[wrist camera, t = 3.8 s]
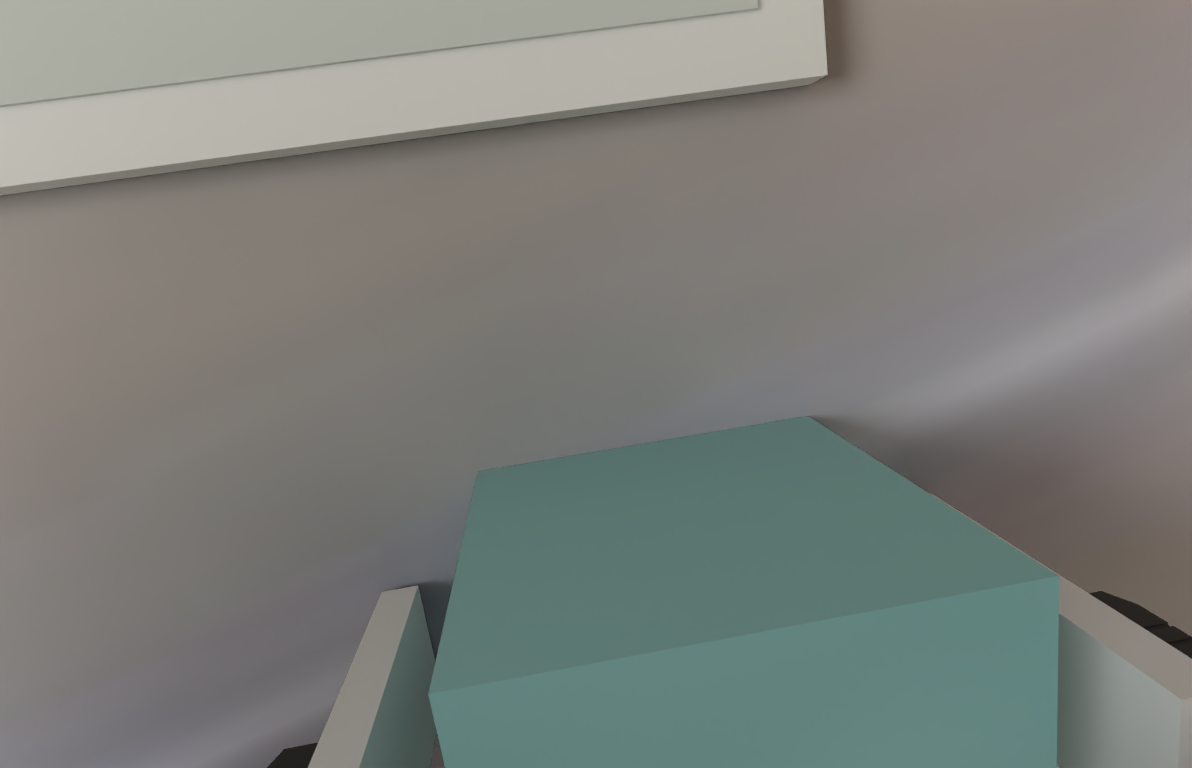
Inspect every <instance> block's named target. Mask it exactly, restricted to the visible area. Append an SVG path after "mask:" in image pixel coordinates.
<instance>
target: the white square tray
mask: <svg viewBox="0 0 1192 768" xmlns="http://www.w3.org/2000/svg"><path fill="white" fill-rule="evenodd" d="M826 75H828V72H827V56H826V40H825V24H824V8H823V0H0V195H8V194H15V193H22V192H30V191H37V190H44V189H52V188H59V187H66V186H74V185H81V184H88V183H96V182H103V181H110V180H117V179H125V178H132V177H139V176H147V175H154V174H161V173H169V172H176V171H183V170H191V169H198V168H205V167H213V166H220V165H227V164H234V163H242V162H249V161H256V160H264V159H271V158H278V157H286V156H293V155H300V154H308V153H315V152H322V151H330V150H337V149H344V148H351V147H359V146H366V145H373V144H381V143H388V142H395V141H403V140H410V139H417V138H425V137H432V136H439V135H447V134H454V133H461V132H468V131H476V130H483V129H490V128H498V127H505V126H512V125H520V124H527V123H534V122H542V121H549V120H556V119H564V118H571V117H578V116H585V115H593V114H600V113H607V112H615V111H622V110H629V109H637V108H644V107H651V106H659V105H666V104H673V103H681V102H688V101H695V100H703V99H710V98H717V97H724V96H732V95H739V94H746V93H754V92H761V91H768V90H776V89H783V88H790V87H798V86H805V85H810V84H812V83H814V82H816V81H817V80H819V79H821V78H823V77H825V76H826Z"/></svg>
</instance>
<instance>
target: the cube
mask: <svg viewBox="0 0 1192 768" xmlns="http://www.w3.org/2000/svg"><path fill="white" fill-rule="evenodd" d="M1058 635H1059V575H1057V574H1055V573H1054V572H1052V571H1051V570H1049V569H1048V568H1046V567H1044V566H1043V565H1041V564H1040V563H1038V562H1037V561H1035V560H1033V559H1032V558H1030V557H1029V556H1027V555H1026V554H1024V553H1022V552H1021V551H1019V550H1018V549H1016V548H1015V547H1013V546H1011V545H1010V544H1008V543H1007V542H1005V541H1004V540H1002V539H1000V538H999V537H997V536H996V535H994V534H993V533H991V532H989V531H988V530H986V529H985V528H983V527H982V526H980V525H978V524H977V523H975V522H974V521H972V520H971V519H969V518H967V517H966V516H964V515H963V514H961V513H960V512H958V511H956V510H955V509H953V508H952V507H950V506H949V505H947V504H945V503H944V502H942V501H941V500H939V499H938V498H936V497H934V496H933V495H931V494H930V493H928V492H927V491H925V490H923V489H922V488H920V487H919V486H917V485H916V484H914V483H912V482H911V481H909V480H908V479H906V478H905V477H903V476H901V475H900V474H898V473H897V472H895V471H894V470H892V469H890V468H889V467H887V466H886V465H884V464H883V463H881V462H879V461H878V460H876V459H875V458H873V457H872V456H870V455H869V454H867V453H865V452H864V451H862V450H861V449H859V448H858V447H856V446H854V445H853V444H851V443H850V442H848V441H847V440H845V439H843V438H842V437H840V436H839V435H837V434H836V433H834V432H832V431H831V430H829V429H828V428H826V427H825V426H823V425H821V424H820V423H818V422H817V421H815V420H814V419H812V418H810V417H809V416H806V417H800V418H794V419H788V420H782V421H776V422H770V423H764V424H758V425H752V426H746V427H740V428H734V429H728V430H722V431H716V432H710V433H704V434H698V435H692V436H686V437H680V438H674V439H669V440H663V441H657V442H651V443H645V444H639V445H633V446H627V447H621V448H615V449H609V450H603V451H597V452H591V453H585V454H579V455H573V456H567V457H561V458H555V459H549V460H543V461H537V462H531V463H526V464H520V465H514V466H508V467H502V468H496V469H490V470H484V471H478V472H477V477H476V481H475V486H474V490H473V495H472V499H471V504H470V508H469V513H468V518H467V522H466V527H465V531H464V536H463V540H462V545H461V549H460V554H459V558H458V563H457V567H456V572H455V576H454V581H453V585H452V590H451V594H450V599H449V603H448V608H447V612H446V617H445V621H444V626H443V630H442V635H441V639H440V644H439V648H438V653H437V657H436V662H435V666H434V671H433V675H432V680H431V684H430V689H429V693H428V696H429V700H430V704H431V709H432V713H433V717H434V722H435V726H436V731H437V735H438V739H439V744H440V748H441V753H442V757H443V761H444V766H445V768H1057V712H1058Z"/></svg>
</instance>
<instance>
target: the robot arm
mask: <svg viewBox="0 0 1192 768" xmlns="http://www.w3.org/2000/svg"><path fill="white" fill-rule="evenodd" d="M931 495H933V494H931ZM933 496H934V497H936V496H935V495H933ZM936 498H938V497H936ZM938 499H939V498H938ZM939 500H941V499H939ZM941 501H942V502H944V501H943V500H941ZM944 503H945V504H947V503H946V502H944ZM947 505H949V504H947ZM949 506H950V505H949ZM950 507H952V506H950ZM952 508H953V509H955V508H954V507H952ZM955 510H956V511H958V510H957V509H955ZM958 512H960V511H958ZM960 513H961V512H960ZM961 514H963V513H961ZM963 515H964V516H966V515H965V514H963ZM966 517H967V518H969V517H968V516H966ZM969 519H971V518H969ZM971 520H972V521H974V520H973V519H971ZM974 522H975V523H977V522H976V521H974ZM977 524H978V525H980V524H979V523H977ZM980 526H982V525H980ZM982 527H983V528H985V527H984V526H982ZM985 529H986V530H988V529H987V528H985ZM988 531H989V532H991V531H990V530H988ZM991 533H993V532H991ZM993 534H994V535H996V534H995V533H993ZM996 536H997V537H999V536H998V535H996ZM999 538H1000V539H1002V538H1001V537H999ZM1002 540H1004V539H1002ZM1004 541H1005V542H1007V541H1006V540H1004ZM1007 543H1008V544H1010V543H1009V542H1007ZM1010 545H1011V546H1013V545H1012V544H1010ZM1013 547H1015V546H1013ZM1015 548H1016V549H1018V548H1017V547H1015ZM1018 550H1019V551H1021V550H1020V549H1018ZM1021 552H1022V553H1024V552H1023V551H1021ZM1024 554H1026V553H1024ZM1026 555H1027V556H1029V555H1028V554H1026ZM1029 557H1030V558H1032V557H1031V556H1029ZM1032 559H1033V560H1035V559H1034V558H1032ZM1035 561H1037V560H1035ZM1037 562H1038V563H1040V562H1039V561H1037ZM1040 564H1041V565H1043V564H1042V563H1040ZM1043 566H1044V567H1046V566H1045V565H1043ZM1046 568H1048V567H1046ZM1048 569H1049V570H1051V569H1050V568H1048ZM1051 571H1052V572H1054V571H1053V570H1051ZM1054 573H1055V574H1057V575H1059V574H1058V573H1056V572H1054ZM434 666H435V659H434V654H433V650H432V645H431V641H430V636H429V632H428V627H427V623H426V618H425V614H424V610H423V605H422V601H421V596H420V592H419V587H418V586H412V587H406V588H401V589H395V590H390V591H384V592H381V595H380V597H379V599H378V602H377V604H376V606H375V609H374V611H373V614H372V616H371V618H370V621H369V623H368V625H367V628H366V630H365V633H364V635H363V637H362V640H361V642H360V645H359V647H358V649H357V652H356V654H355V656H354V659H353V661H352V664H351V666H350V668H349V671H348V673H347V675H346V678H345V680H344V683H343V685H342V687H341V690H340V692H339V694H338V697H337V699H336V702H335V704H334V706H333V709H332V711H331V713H330V716H329V718H328V721H327V723H326V725H325V728H324V730H323V732H322V735H321V737H320V740H319V742H318V743H314V744H309V745H304V746H298V747H293V748H288V749H284V750H283V751H282V752H281V753H280V754H279V755H278V756H277V758H276V759H275V760H274V761H273V762H272V763H271V764H270V765H269V766H268V767H267V768H430V766H431V761H432V755H433V750H434V745H435V740H436V734H437V731H436V726H435V722H434V717H433V713H432V709H431V704H430V700H429V696H428V693H429V689H430V684H431V680H432V675H433V671H434ZM1057 764H1058V765H1059V766H1060V767H1061V768H1192V637H1191V636H1189V635H1187V634H1186V633H1184V632H1182V631H1181V630H1179V629H1178V628H1176V627H1174V626H1171V627H1170V626H1169V625H1168V622H1166V621H1164V620H1163V619H1161V618H1159V617H1158V616H1156V615H1154V614H1153V613H1151V612H1149V611H1148V610H1146V609H1144V608H1143V607H1141V606H1139V605H1138V604H1135V603H1132V602H1129V601H1127V600H1124V599H1121V598H1118V597H1116V596H1113V595H1110V594H1108V593H1105V592H1102V591H1099V592H1094V593H1087V592H1086V591H1084V590H1083V589H1081V588H1080V587H1078V586H1076V585H1075V584H1073V583H1072V582H1070V581H1069V580H1067V579H1065V578H1064V577H1062V576H1061V575H1059V635H1058V712H1057Z"/></svg>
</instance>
